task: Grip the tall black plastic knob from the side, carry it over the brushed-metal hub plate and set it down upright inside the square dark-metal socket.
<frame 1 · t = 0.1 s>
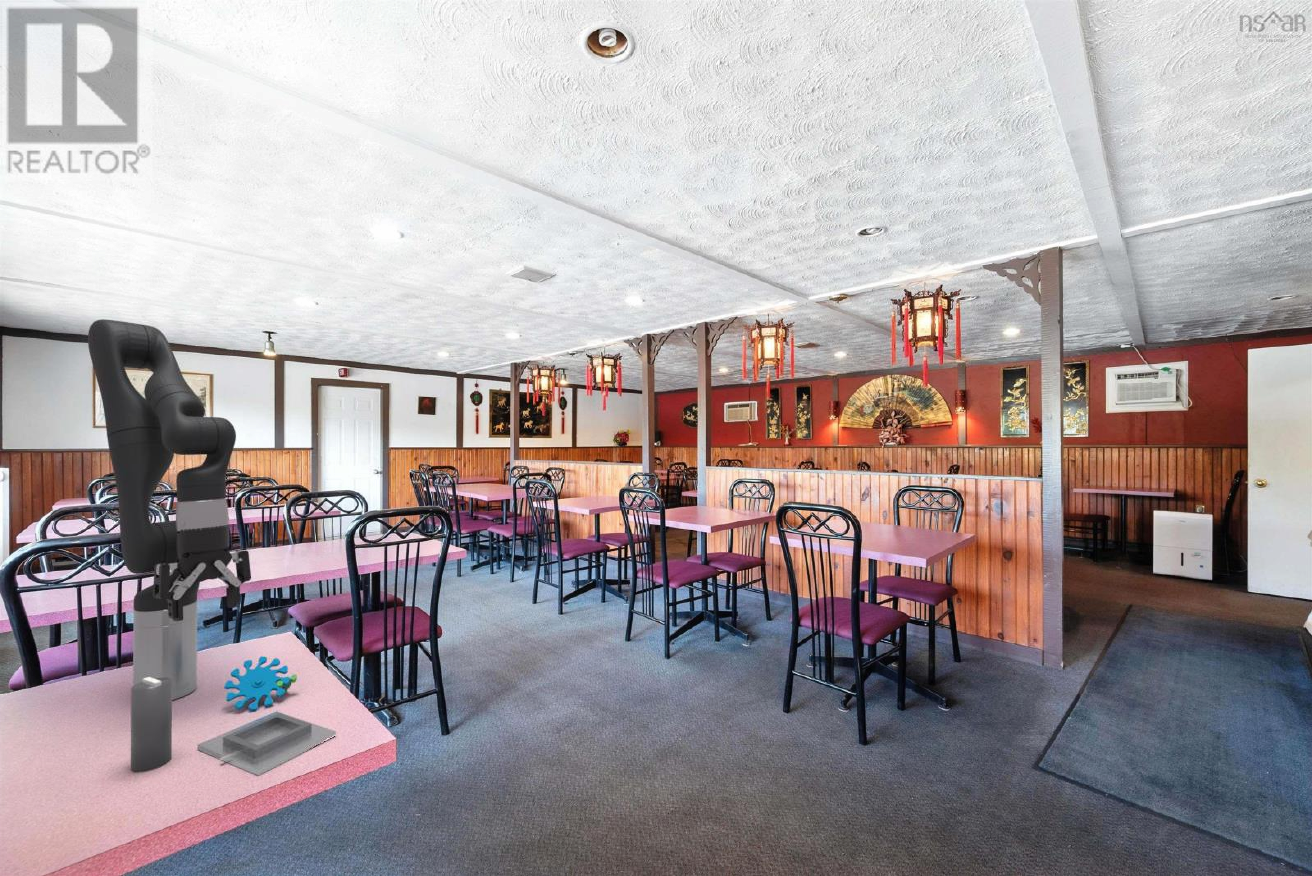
hand: (205, 613, 102), 17 cm above the table, tool pointing down, fingers open, 8 cm apart
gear: (261, 703, 104), on the table
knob: (151, 763, 84), on the table
hub: (268, 742, 90), on the table
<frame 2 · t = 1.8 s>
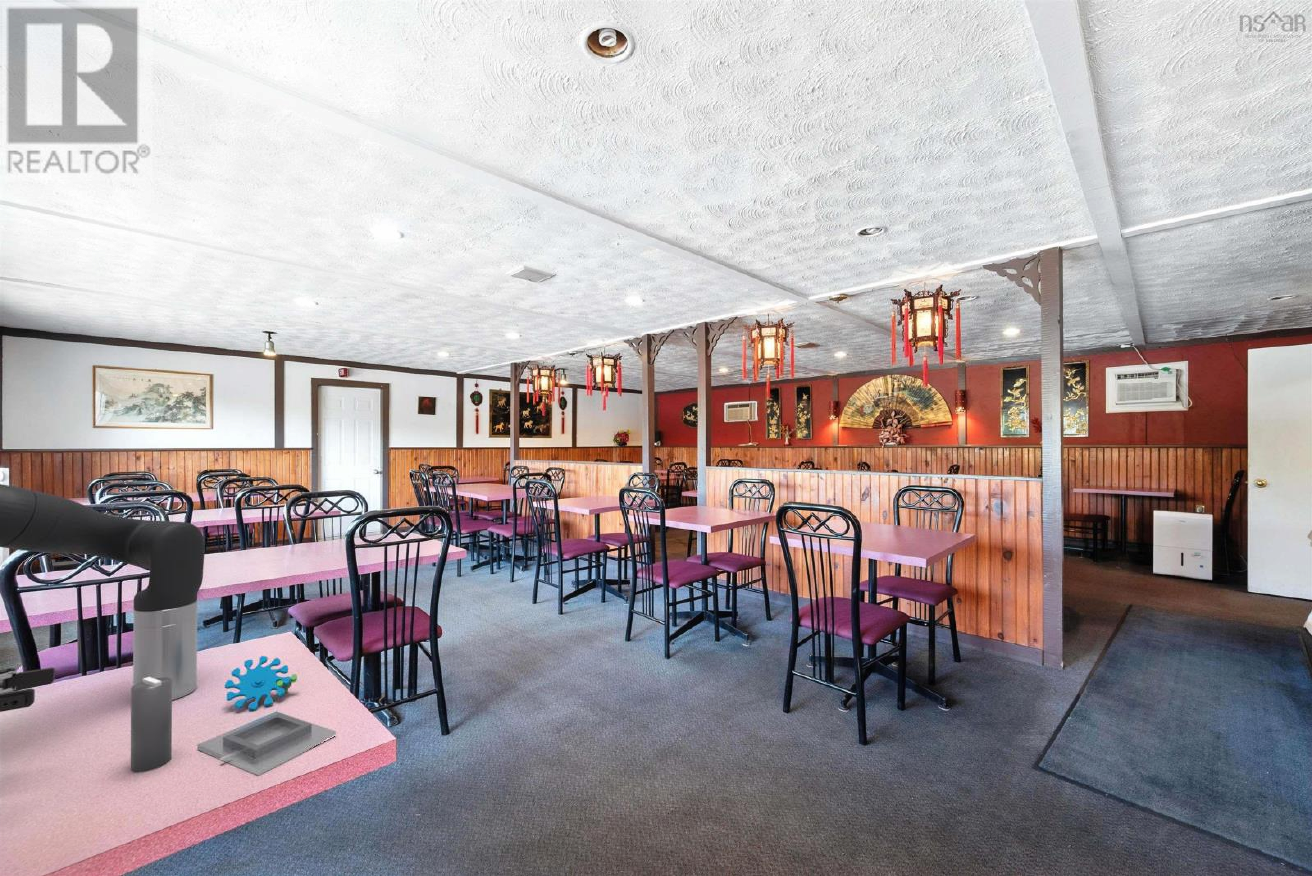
hand: (44, 685, 78), 15 cm above the table, tool horizontal, fingers open, 8 cm apart
nothing on the table moved.
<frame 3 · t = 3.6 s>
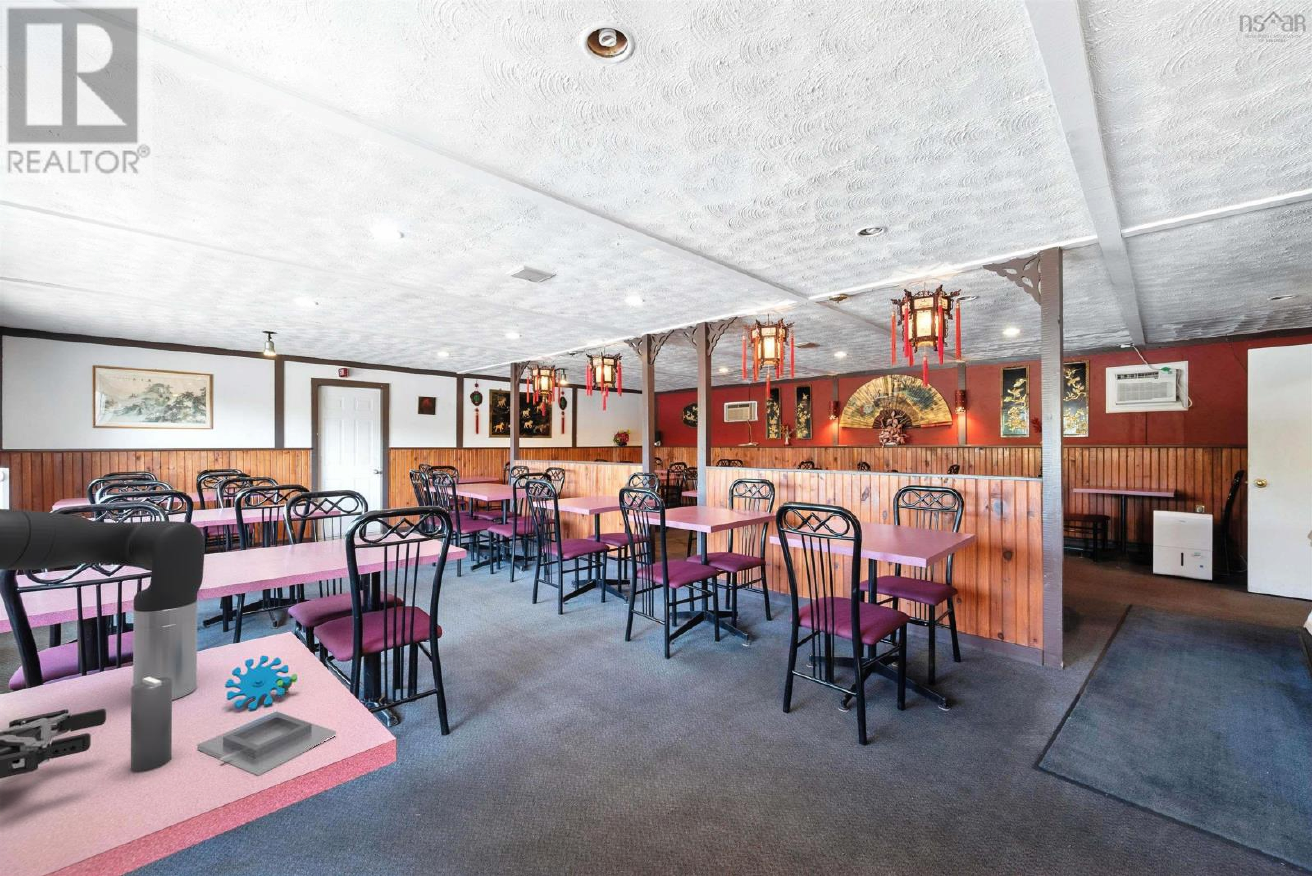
hand: (98, 728, 81), 7 cm above the table, tool horizontal, fingers open, 8 cm apart
nothing on the table moved.
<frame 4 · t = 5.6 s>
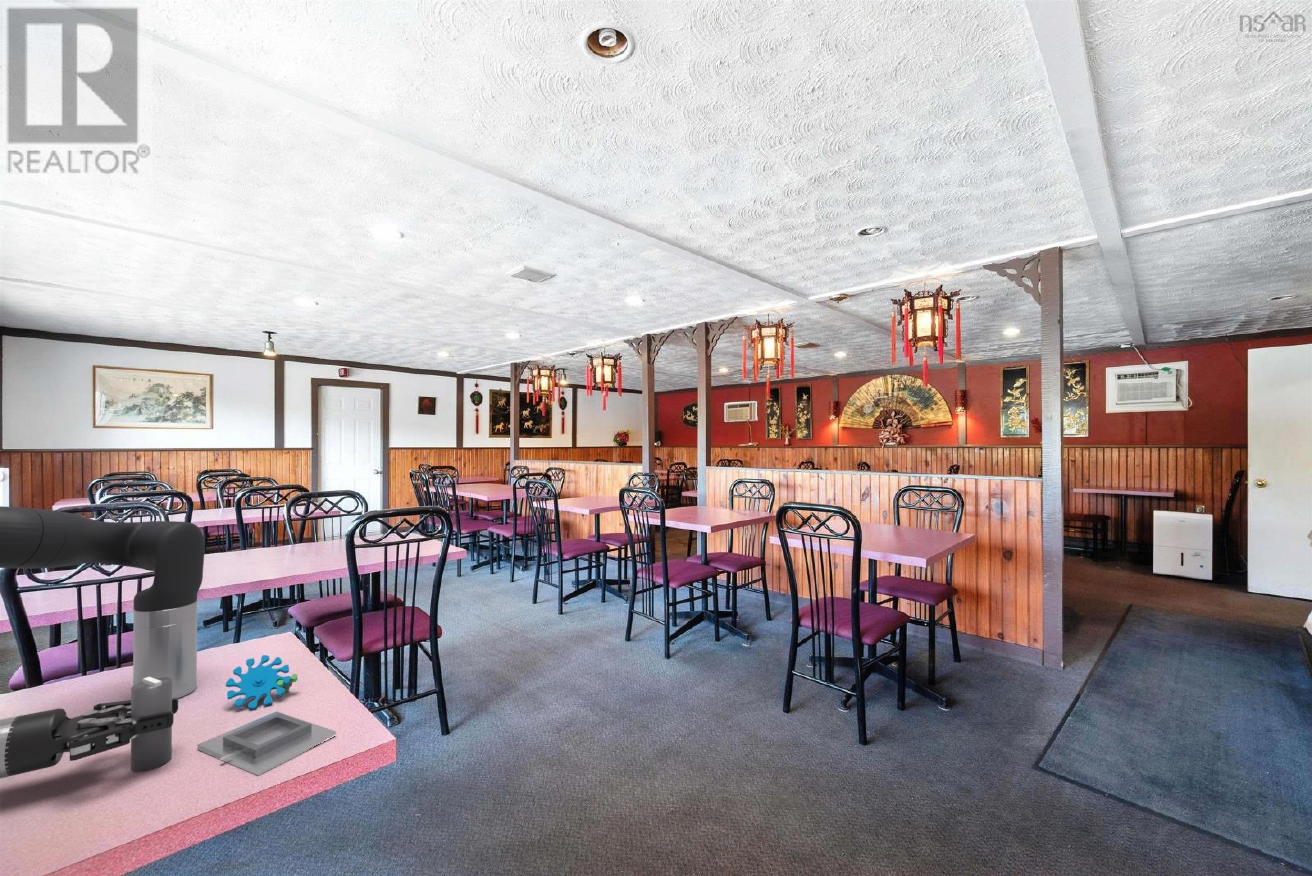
hand: (174, 711, 86), 7 cm above the table, tool horizontal, fingers closed on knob, 4 cm apart
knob: (151, 763, 84), on the table, touching gripper
everything else where it was.
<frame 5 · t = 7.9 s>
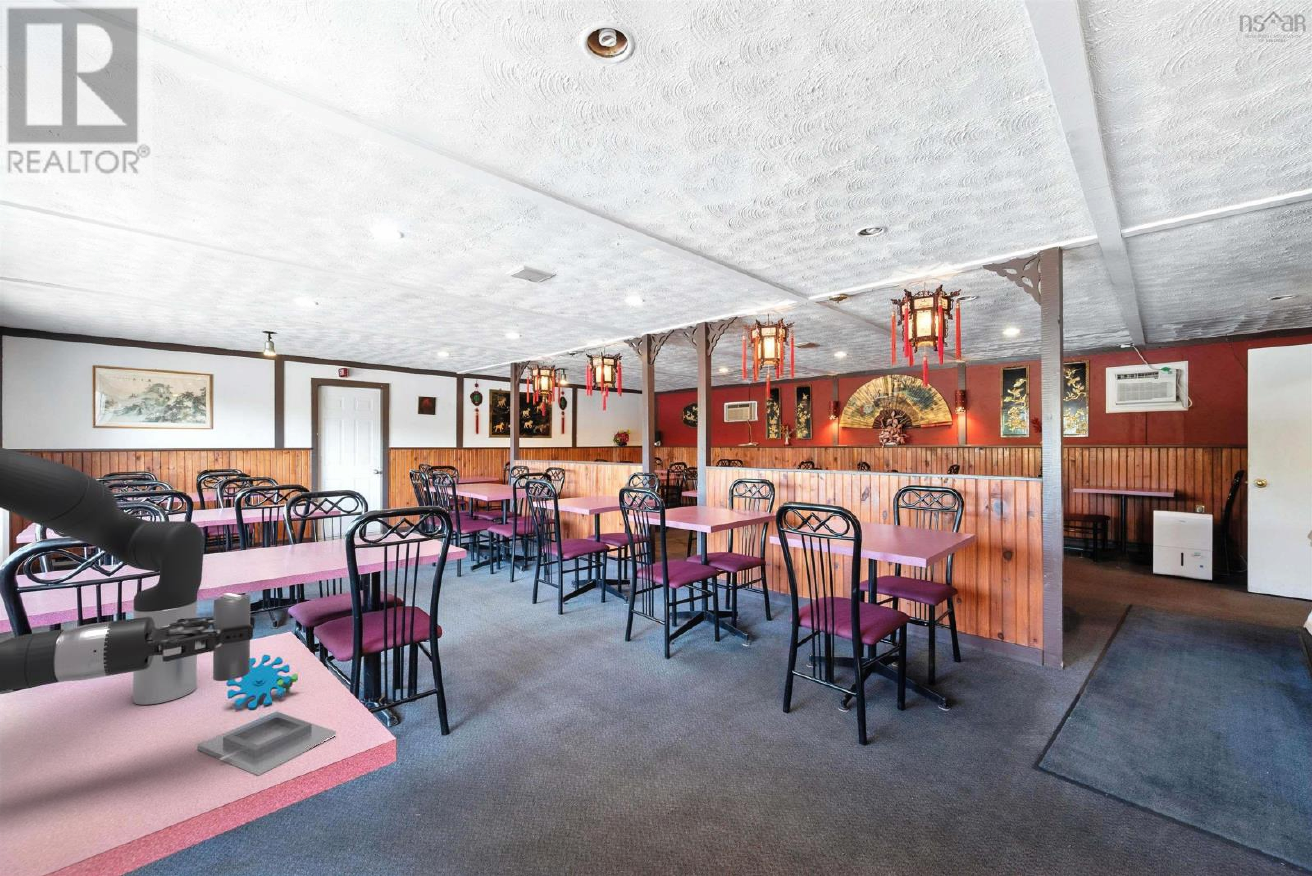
hand: (253, 627, 89), 19 cm above the table, tool horizontal, fingers closed on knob, 4 cm apart
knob: (231, 674, 88), point 12 cm above the table, touching gripper
everything else where it was.
when the fingers open (9 cm above the table, at t = 10.5 s): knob drops 1 cm, resting on hub.
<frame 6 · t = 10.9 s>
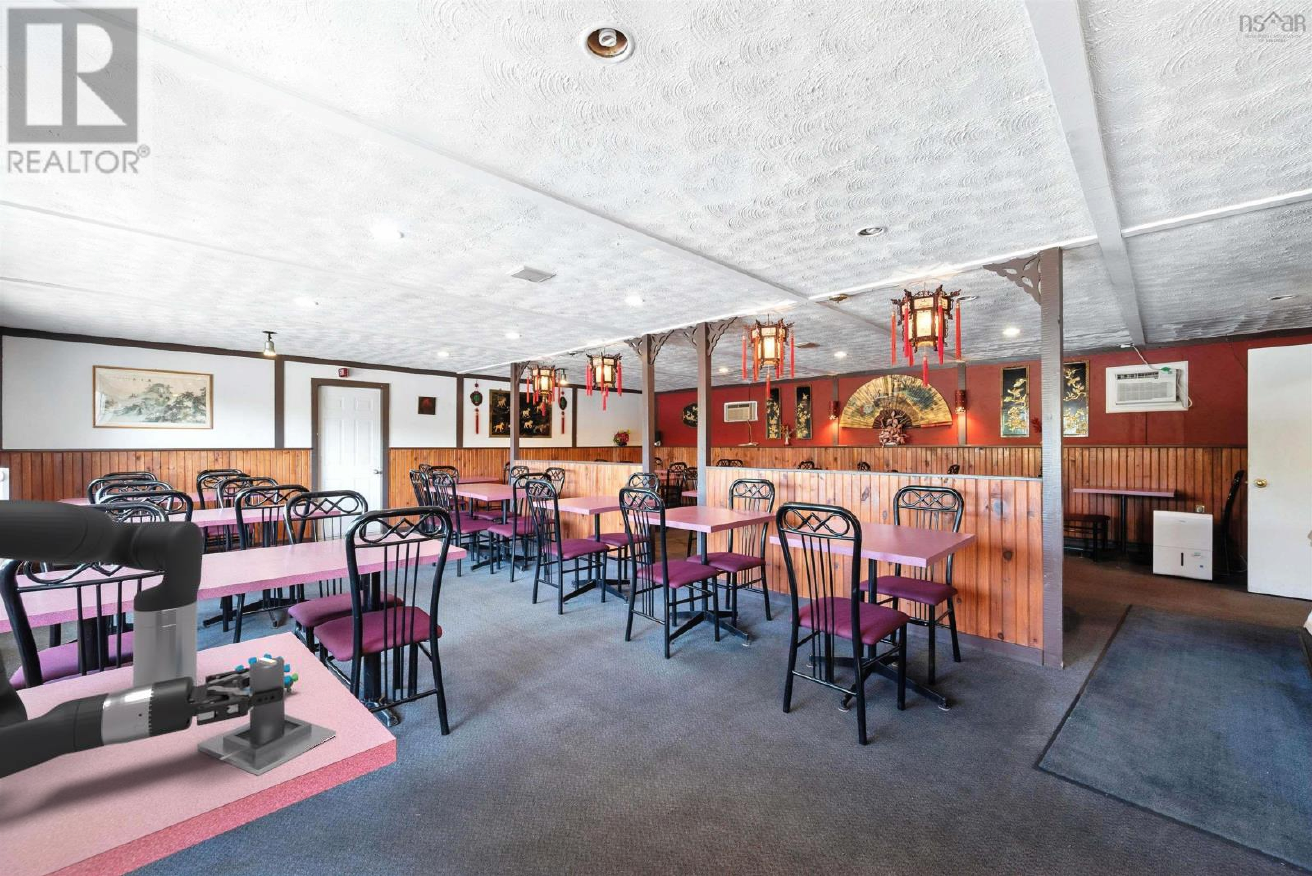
hand: (283, 682, 91), 9 cm above the table, tool horizontal, fingers open, 8 cm apart
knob: (267, 737, 90), point 1 cm above the table, touching hub
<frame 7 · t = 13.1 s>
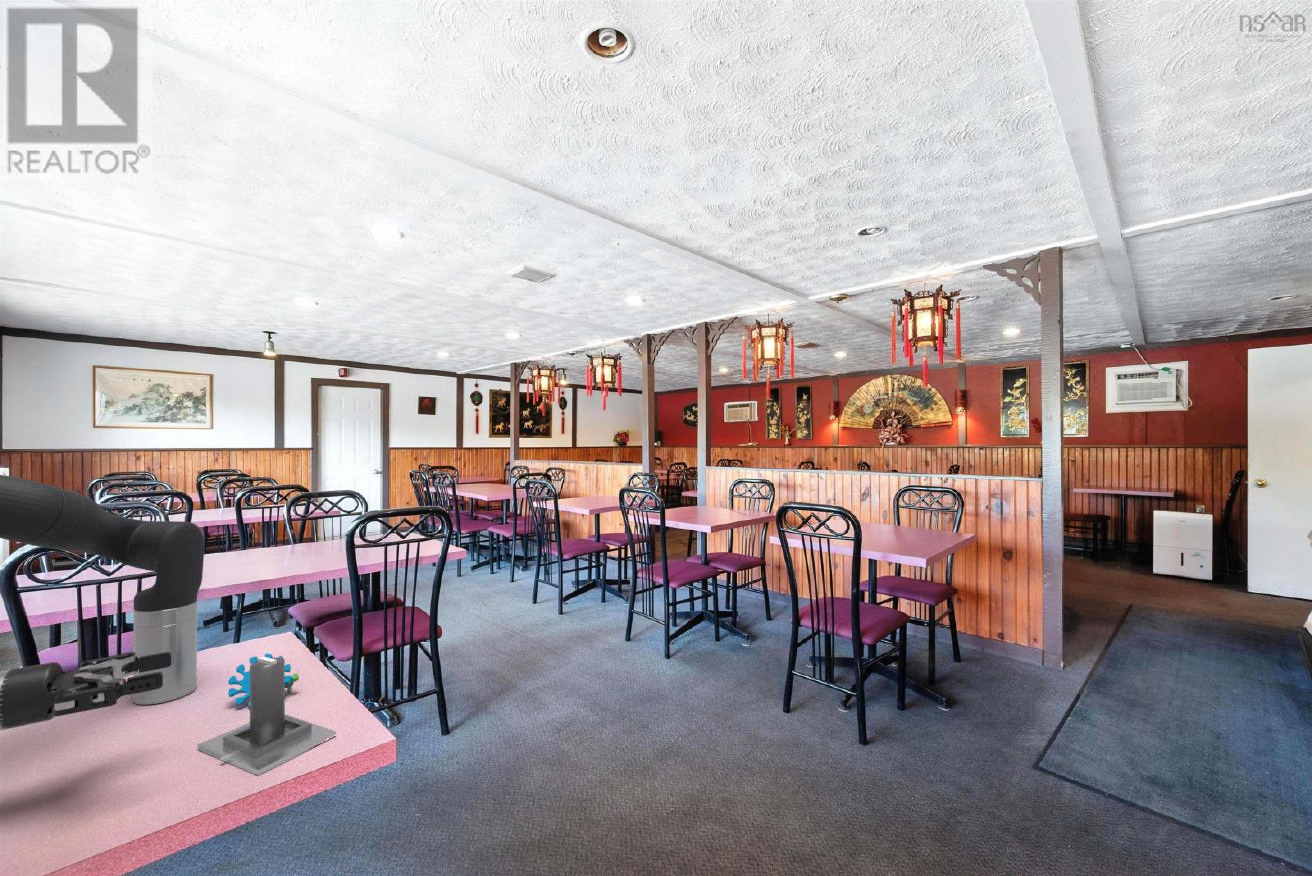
hand: (167, 668, 83), 15 cm above the table, tool horizontal, fingers open, 8 cm apart
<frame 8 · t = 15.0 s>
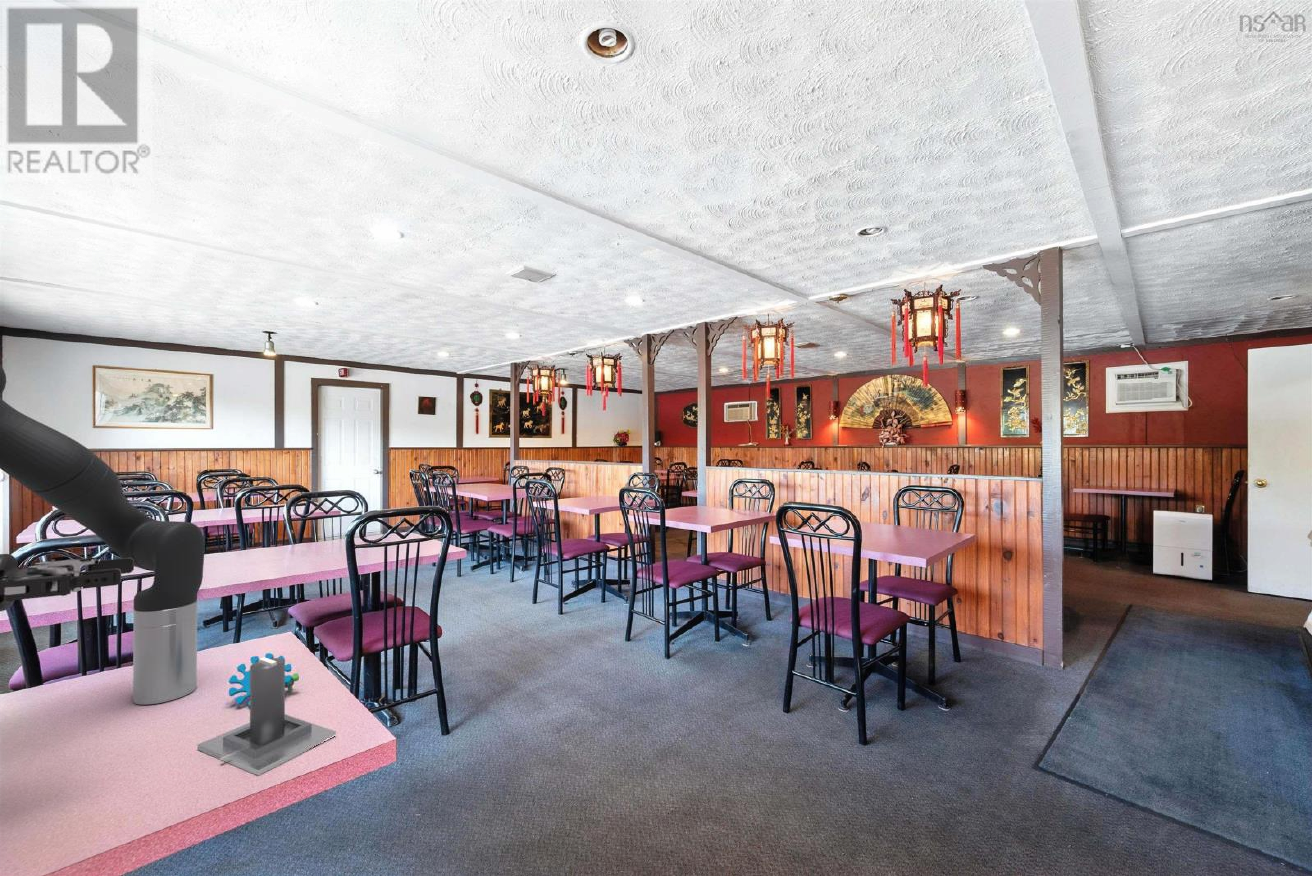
hand: (127, 570, 81), 30 cm above the table, tool horizontal, fingers open, 8 cm apart
at the end: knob 0.1 cm off-centre on the hub, point 0.9 cm above the hub's base; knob tilted 1°; the gripper is holding nothing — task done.
